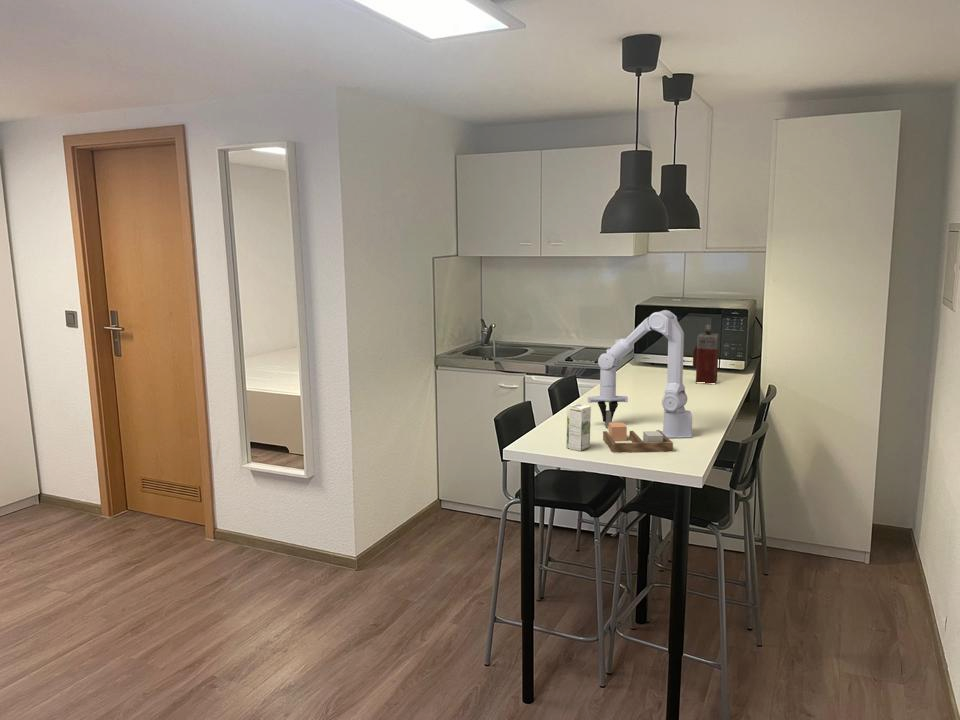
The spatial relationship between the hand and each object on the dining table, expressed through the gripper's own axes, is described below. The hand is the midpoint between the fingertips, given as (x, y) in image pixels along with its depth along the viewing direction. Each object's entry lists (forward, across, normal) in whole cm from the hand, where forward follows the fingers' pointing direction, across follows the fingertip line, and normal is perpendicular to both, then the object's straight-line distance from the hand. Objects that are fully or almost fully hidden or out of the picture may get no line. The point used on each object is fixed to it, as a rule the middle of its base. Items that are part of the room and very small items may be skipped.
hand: (607, 421), depth 271 cm
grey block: (+2, -9, +29) cm, 31 cm away
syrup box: (+2, +15, +28) cm, 32 cm away
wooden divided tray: (+2, -5, +26) cm, 27 cm away
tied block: (+2, 0, +10) cm, 10 cm away
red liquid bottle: (+2, -64, -82) cm, 104 cm away
